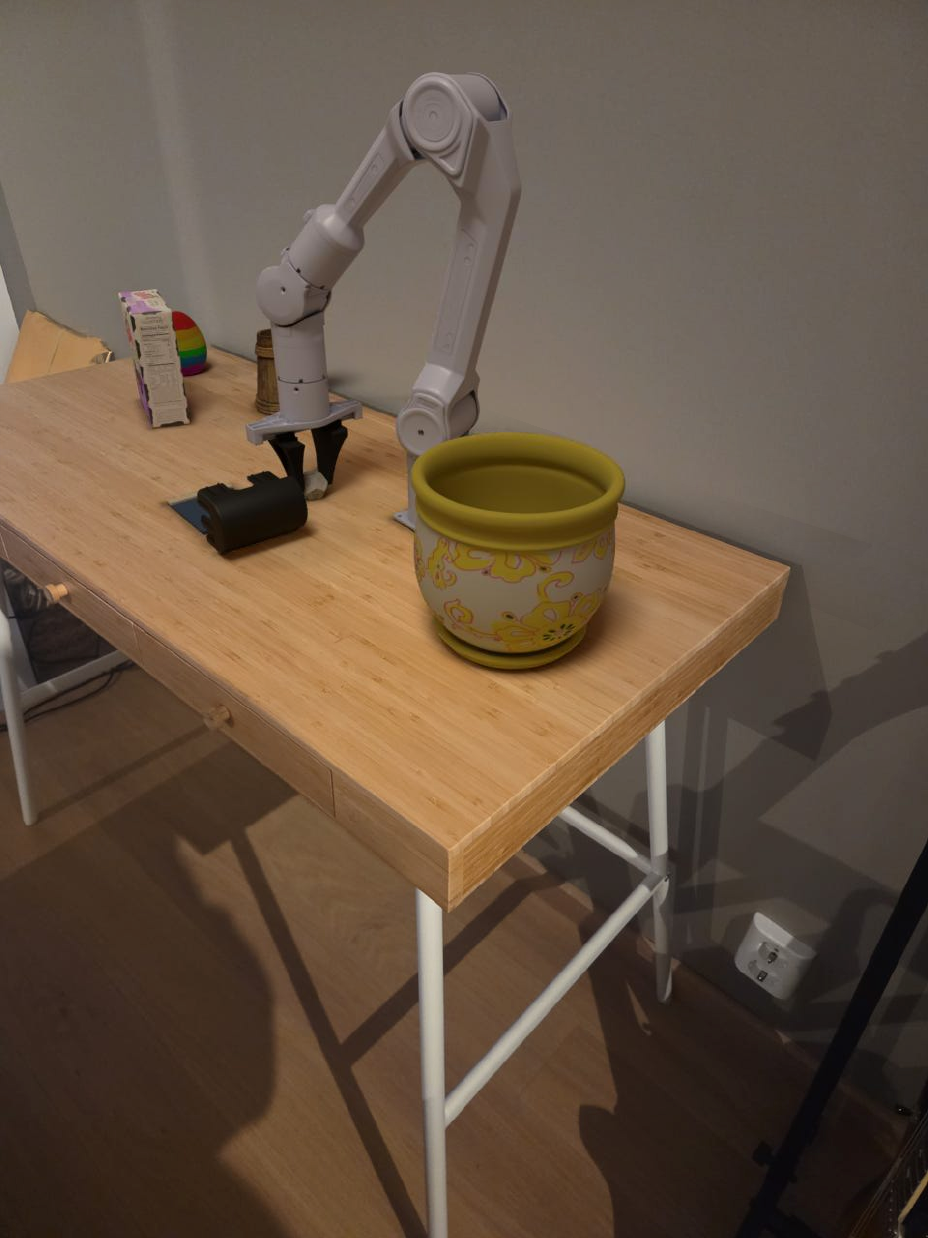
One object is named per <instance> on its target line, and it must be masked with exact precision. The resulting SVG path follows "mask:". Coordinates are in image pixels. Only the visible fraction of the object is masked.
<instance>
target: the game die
mask: <svg viewBox="0 0 928 1238" xmlns="http://www.w3.org/2000/svg"><path fill="white" fill-rule="evenodd" d="M303 472H304V481H305V492H304V496H305V499H308V500H310V501H314V500H319V499H320V500H321V499H322V498H323V496H324V494H325V492H326V489H327V486H328V485H327V483H328V482H327V480H326V479H325V478H324V476H323V475H322V474H321V473H320V472H318V470H316V469H314V470H313V469H312V470H306V471H303Z"/></svg>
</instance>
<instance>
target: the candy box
mask: <svg viewBox="0 0 928 1238" xmlns="http://www.w3.org/2000/svg"><path fill="white" fill-rule="evenodd" d="M117 295H118V300H119V304H120V310H121V315H122V318H123V323H124V328H125V333H126V337H127V341H128V346H129V349H130V355H131V361H132V365H133V370H134V374H135V380H136V384H137V389H138V394H139V400H140V403H141V404H142V407H143V410H144V412H145V414H146V417H147V419H148V421H149V424H150V426H151V428H152V429H154V428H155V429H156V428H164V427H173V426H174V427H175V426H184V425H189V424H191V416H190V411H189V405H188V399H187V393H186V388H185V381H184V376H183V375H182V369H181V363H180V357H179V351H178V345H177V338H176V332H175V326H174V320H173V315H172V312H173V309H171V308H170V307H169V306H168V304H167V302H166V300H165V299H164V298H163V296H162V295H161V293H159V291H158V289H157V288H153V289H141V290H132V291H130V290H129V291H120V292H118V293H117Z"/></svg>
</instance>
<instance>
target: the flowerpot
mask: <svg viewBox="0 0 928 1238" xmlns="http://www.w3.org/2000/svg"><path fill="white" fill-rule="evenodd" d="M410 478H411V485H412V488H413V490H414V492H415V494H416V497H415V508H416V511H417V516H416V523H415V531H414V530H413V531H414V532H413V565H414V572H415V577H416V578H415V579H416V581H417V585H418V588H419V591H420V593H421V596H422V598H423V600H424V602H425V604H426V605H427V607H428V609H429V610H430V611H431V613H432V614H433V625H434V628H435V631H436V633H437V635H438V636H439V637H440V639H441V640H442V641H443V642H444V643H445V644H446V645H448V646H449V647H450V648H451V649H453V651H454V652H455V653H457V654H458V655H460V656H462V657H463V658H465V659H467V660H468V661H471V662H473V663H476V664H478V665H481V666H485V667H488V668H494V669H501V670H502V669H503V670H525V669H532V668H538V667H541V666H545V665H547V664H550V663H552V662H555V661H557V660H558V659H560V658H561V657H563V656H564V655H565V654H568V653H569V652H571V651H572V650H574V648H575V647H577V646H578V645H579V644H580V642H581V641H582V640H583V638H584V636H585V635H586V631H587V623H588V622H589V621H590V619H592V617H593V616H594V615H595V614H596V612H597V610H598V609H599V607H600V606H601V604H602V602H603V601H604V599H605V596H606V594H607V592H608V589H609V587H610V583H611V579H612V575H613V572H614V571H613V570H614V563H615V556H616V525H615V524H616V523H615V522H616V520H617V517H618V514H619V503H620V501H621V500H622V498H623V496H624V495H625V490H626V477H625V474H624V471H623V469H622V468H621V466H620V465H619V464H618V463H617V462H616V461H615V460H614V459H613V458H611V456H609V455H607V454H606V453H604V451H601V450H599V449H597V448H595V447H593V446H590V445H588V444H585V443H583V442H579V441H576V440H573V439H569V438H564V437H560V436H555V435H551V434H550V435H549V434H543V433H533V432H521V431H520V432H519V431H518V432H517V431H514V432H513V431H503V432H484V433H476V434H471V435H470V434H469V436H464V437H460V438H456V439H452V440H449V441H446V442H443V443H441V444H438V445H436V446H434V447H432V448H430V449H429V450H427V451H426V452H424V453H423V454H422V455H421V456H420V457H419V458H418V459H417V460H416V461H415V463H414V465H413V467H412V470H411V477H410Z"/></svg>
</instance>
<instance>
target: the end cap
mask: <svg viewBox="0 0 928 1238" xmlns="http://www.w3.org/2000/svg"><path fill="white" fill-rule="evenodd" d="M246 480H247V481H248V482H250V483H251V486H248V487H244V488H240V489H235V488H233V489H231V488H229V487H227V486H226V485H225V483H223V482H220V483H219V482H218V483H216V484H214V485H209V486H208V485H207V486H205V487H202V488H200V489H198V490H197V491H198V492H197V491H196V492H197V498H198V500H197V503H198V504H199V506H201V507H202V508H203V509H204V510H205V511H207V512H208V513H209V515H210V519H209V518H208V517H206V516H205V515H201V520H200V521H201V522H202V525H203V527H204V528H205V529H206V530H207V531H209V532H210V533H207V534H205V539H206V541H207V543H208V544H209V545H210V546H212V547H213V548H214V549H215V550H216V551H217V552H219V554H221V555H227V554H231V553H233V552H237V551H239V550H240V551H241V550H243V549H246V548H249V547H252V546H255V545H258V544H262V543H264V542H268V541H270V540H274V539H276V538H277V539H278V538H281V537H283V536H286V535H290V534H292V533H295V532H297V531H299V530H300V529H301V528H302V527H304V526H306V524H307V522H308V518H309V509H308V503H307V498H306V497H305V496H304V493H303V491H302V489H301V487H300V485H299V483H298V482H297V481H296V480H295V478H293V477H292V476H287V475H286V476H283V477H279V476H277V475H276V474H275V473H273V472H271V471H270V470H262V471H261V472H258V473H255V474H254V473H252V474H250V475H247V476H246Z"/></svg>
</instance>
